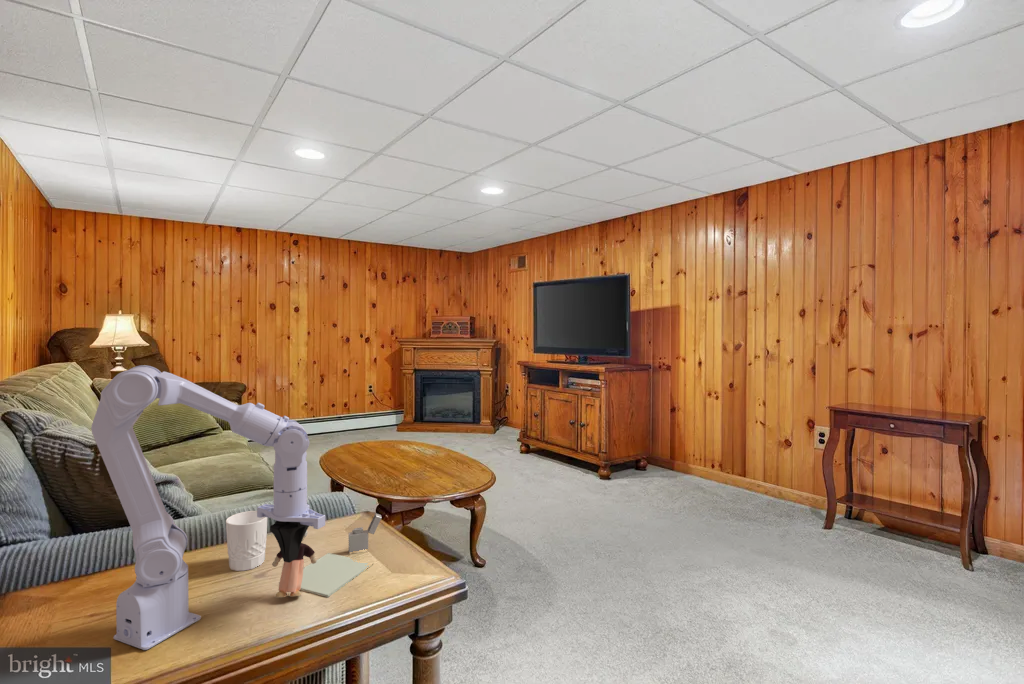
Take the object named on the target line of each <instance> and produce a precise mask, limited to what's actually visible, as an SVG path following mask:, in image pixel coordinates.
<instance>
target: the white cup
mask: <svg viewBox="0 0 1024 684" xmlns="http://www.w3.org/2000/svg"><path fill="white" fill-rule="evenodd" d="M268 519H269V518H268V517H262V518H259V517H257V510H249V511H243V512H238V513H234V514H233V515H231V516H229V517H227V518H226V520H225V529H226V532H225V533H226V545H227V546H226V547H227V554H228V555H227V556H228V567H229V569H230V570H232V571H237V572H243V571H249V570H253V569H256V568H258V567H260V566H262V565H263V564H264V563H265V561H264V560H266V547H267V537H268ZM263 562H264V563H263ZM262 563H263V564H262ZM259 565H260V566H259ZM257 566H258V567H257ZM255 567H256V568H255Z"/></svg>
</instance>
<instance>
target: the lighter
mask: <svg viewBox="0 0 1024 684" xmlns="http://www.w3.org/2000/svg"><path fill="white" fill-rule="evenodd" d="M381 521H382V515H381V514H379V513H374V514H373V517H372V519H371V522H370V523H369V526H368V528H367V529H365V530H364V527H362V526H361V527H355V528H354V529H352V531H351V532H348V553H349V552H353V551H359V550H363V549H364V550H365V549H368V550H369V534H372V535H374V534H375V533H376V530H377V529H378V527H379V525H380V522H381Z"/></svg>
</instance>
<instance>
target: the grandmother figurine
mask: <svg viewBox="0 0 1024 684" xmlns="http://www.w3.org/2000/svg"><path fill="white" fill-rule="evenodd" d="M308 533H309V531H308V530H307V531H306V533H305V535H304V537H303V539H302V542H301V545H300V549H299V553H298V557H297V559H295V560H293V561H292V562H290V563H288V562H284V561H283V564H282V567H281V568H282V569H281V574H280V579H279V582H280V584H279V583H278V592H276V593H275V595H274V597H275V598H285V597H287V596H288V593H289V597H299V596H302V593H301V590H300V589H301V584H302V578H303V568H304V567H305V566H304V565H305V560H304V557H306V558H309V560H310V564H311V563H312V564H314V563H316V561H317V560H318V559H317V558H316V555H315V553H316V551H315V550H313V548H312V547H311V546H309V545H308V544H306V543H304V542H303V541H304V539H305V538H306V537H307V535H308ZM281 559H283V557H282V553H281V550H279V552H278V553H276V556H275V558H274V560H273V562H271V565H272V567H277V566H278V565H279V562H281Z"/></svg>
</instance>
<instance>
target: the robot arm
mask: <svg viewBox="0 0 1024 684" xmlns="http://www.w3.org/2000/svg"><path fill="white" fill-rule="evenodd" d="M157 399H158V404H157V406H167V405H168V406H169V405H176V404H177V405H178V404H181V405H185V406H188V407H189V408H190V407H191V408H193V409H195V410H198V411H200V412H203V413H205V414H208V415H210V416H213V417H215V418H217V419H220V420H223V421H225V422H228V423H229V427H230V430H231V432H232V433H234V434H236V435H239V436H241V437H244V438H245V439H248V440H251V441H252V442H255V443H258V444H260V445H262V446H264V447H273V450H274V463H273V504H269V503H267V504H266V503H263V504H261V505H260V506H257V507H256V511H257V517H259V518H262V517H268V518H267V519H272V520H274V521H275V523H273V524H271V525H270V527H269V530H270V532H271V533H272V534H273V536H274V538H275V539H276V542H277V544H278V546H279V549H280V550H281V553H282V557H283V558H282V559H283V563H284V562H288V563H290V562H292V561H293V560H295V559H297V557H298V553H299V549H300V545H301V543H303V541H302V539H303V537H304V535H305V533H306V531H307V532H308V529H309V527H313V529H314V530H319V529H321V528H323V527H325V526H326V515H325V514H321V513H318V512H317V511H315V510H313V509H311V508H310V504H308V461H307V457H308V453H307V451H308V449H309V446H310V439H309V436H308V433H307V431H306V429H305V428H304V426H303V425H302V424H300V423H298V421H296V420H295V419H290V417H288V416H286V415H283V416H280V415H278V414H275V413H274V412H271V411H269V410H267V409H265V404H263V403H260V402H257V403H256V404H254V403H252V402H247V403H244V404H236V403H235V402H232V401H230V400H228V399H226V398H224V397H222V396H220V395H218V394H216V393H214V392H212V391H210V390H208V389H206V388H204V387H202V386H200V385H198V384H196V383H194V382H193V381H190V380H188V379H186V378H183V377H181V376H178V375H176V374H174V373H171V372H169V371H168V372H167V371H165V370H164V371H162V372H161V370H159V369H158V368H156V367H154V366H151V365H143V364H141V365H136V366H134V367H132V368H129V369H128V370H124V371H121V372H119V373H117V374H116V375H115V376H114V377H113V378H112V379H111V380H110V381H109V382H108V383H107V385H106V386H105V387H104V388H103V389H102V390H101V392H100V399H99V402H98V404H97V405H98V406H97V408H96V411H95V415H94V418H93V420H92V423H91V428H90V429H91V434H92V436H93V439H94V441H95V444H96V446H97V449H98V450H99V453H100V456H101V458H102V460H103V463H104V465H105V467H106V470H107V472H108V474H109V477H110V480H111V482H112V484H113V485H112V486H113V487H114V489H115V491H116V494H117V496H118V499H119V501H120V505H121V506H122V509H123V512H124V514H125V516H126V519H127V520H128V523H129V525H130V528H131V530H132V548H133V551H134V553H135V559H136V561H135V564H134V572H135V576H136V577H135V578H136V579H135V581H134V583H133V584H132V585H131V586H129V587H128V588H127V589H124V591H122V592H120V593H119V595H118V596H117V598H116V602H115V603H116V604H115V605H116V606H115V609H116V610H115V611H116V634H114V635H113V639H114V640H116V641H118V642H121V643H124V644H126V645H129V646H132V647H135V648H138V649H141V650H143V651H147V650H149V649H151V648H153V647H155V646H156V645H158V644H160V643H161V642H163V641H165V640H166V639H168V638H170V637H173V635H176V634H177V633H179V632H180V631H182V630H184V629H186V628H188V627H190V626H191V625H192V624H195V623H196V622H198V621H200V620H201V619H202V615H200V614H197V613H193V612H190V610H189V565H188V564H187V562H185V561H184V559H183V557H184V553H185V551H186V550H187V546H188V535H187V534H186V532H185V531H184V530H183V529H182V528H180V527H179V526H178V525H176V523H175V520H174V518H173V517H172V515H171V514H170V513H168V512H167V511H166V508H165V505H164V503H163V500H162V498H161V496H160V493H159V490H158V488H157V485H156V483H155V480H154V477H153V475H152V473H151V470H150V467H149V465H148V463H147V460H146V458H145V455H144V453H143V449H142V447H141V445H140V443H139V440H138V438H137V436H136V433H135V431H134V425H135V424H136V422H137V421H138V419H140V417H141V415H142V414H143V412H144V410H145V409H146V408H147V407H149V405H151V404H152V403H153V402H154V401H156V400H157ZM280 550H279V551H280Z"/></svg>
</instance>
